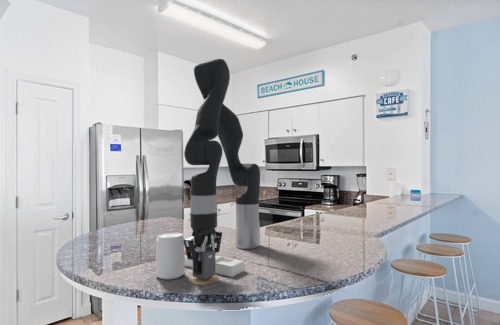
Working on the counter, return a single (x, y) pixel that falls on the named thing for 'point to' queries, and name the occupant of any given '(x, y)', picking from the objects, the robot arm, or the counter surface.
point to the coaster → (204, 282)
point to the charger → (206, 264)
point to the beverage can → (170, 255)
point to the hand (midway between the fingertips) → (204, 271)
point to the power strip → (221, 265)
